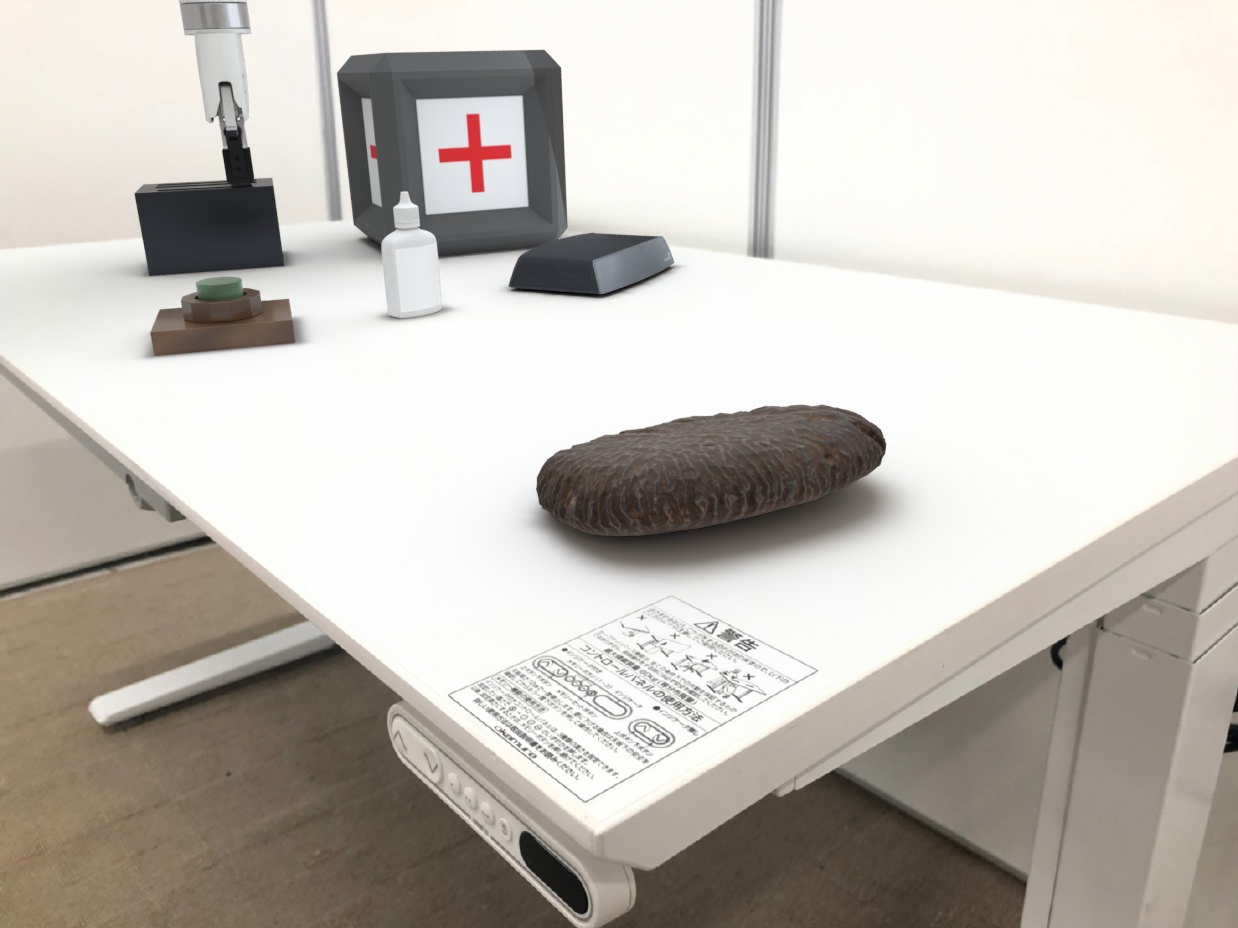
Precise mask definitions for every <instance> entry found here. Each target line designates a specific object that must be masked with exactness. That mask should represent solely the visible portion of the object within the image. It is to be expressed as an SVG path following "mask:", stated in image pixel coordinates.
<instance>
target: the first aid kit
mask: <svg viewBox="0 0 1238 928" xmlns="http://www.w3.org/2000/svg"><path fill="white" fill-rule="evenodd" d="M562 78H563V77H562V67H561V66H560V64H558V62H557V61H556V60H555V59H554V58H553V57H552V56H551V55H550V54H549V53H548V52H547V51H546V49H516V50H514V49H513V50H512V49H509V50H507V49H503V50H462V51H461V50H460V51H459V50H457V51H456V50H455V51H454V50H453V51H452V50H451V51H407V52H406V51H403V52H378V53H366V54H365V53H364V54H354V55H350V56H349V57H348V59H347V60H346V61H345V62H344V63H343V65H342V66H341V67H340V68H339V70H338V71H337V72H336V79H337V88H338V97H339V106H340V115H341V123H342V125H341V126H342V132H343V142H344V151H345V160H346V169H347V179H348V186H349V196H350V202H351V203H350V205H351V214H352V223H353V226H354V227H355V228H357V229H358V230H359V231H360V232H361V233H363V234H364V235H365V236H366V237H367V238H369V239H370V240H372V241H373V242H375V243H377V244H379V245H380V246H381V244H382V241H383V239H384V238H385V237H386V236H387V235H389V234H390V233H392V232H394V231H395V230H396V229H397V228H395V222H394V212H393V207H394V206H396V205H398V204H399V202H400V194H401V192H408V194H409V198H410V201H411V202H412V203H413V204H415V205H417V206H418V209H419V220H420V226H419V227H418V228H420V229H422V230H426V231H428V232H430V233H432V234H433V235H434V236H435V238H436V242H437V251H438V257H448V256H458V255H468V254H478V253H488V252H499V251H510V250H520V249H533V248H535V247H537V246H540V245H542V244H545V243H548V242H551V241H554V240H558V239H561V237H562V235H563V234H564V233H565V232H566V231H567V229H568V228H569V226H568V203H567V202H568V201H567V200H568V199H567V180H566V179H567V177H566V153H565V129H564V127H565V125H564V105H563V102H564V101H563V79H562Z"/></svg>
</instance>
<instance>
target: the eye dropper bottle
mask: <svg viewBox="0 0 1238 928" xmlns="http://www.w3.org/2000/svg"><path fill="white" fill-rule="evenodd" d="M393 212H394V222H395V228H397V229H396V230H395V231H394V232H392V233H390V234H389V235H387V236H386V237H385V238H384V239H383V241H382V244H381V245H380V246H381V247H380V249H381V261H382V271H383V272H382V273H383V282H384V291H385V298H386V299H385V300H386V309H387V314H388V316H390V317H393V318H397V319H412V318H417V317H418V318H419V317H423V316H427V315H431V314H435V313H437V312H440V311H441V310H442V309H443V299H442V298H443V297H442V287H441V286H442V285H441V274H440V262H439V261H440V260H439V256H438V251H437V242H436V238H435V236H434V235H433V234H432V233H430V232H428V231H426V230H422V229H420V228H418V227H419V226H420V220H419V209H418V206H417V205H415V204H413V203H412V202H411V201H410V198H409V194H408V192H401V194H400V202H399V204H398V205H396V206H394V207H393Z"/></svg>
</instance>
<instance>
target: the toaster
mask: <svg viewBox="0 0 1238 928" xmlns="http://www.w3.org/2000/svg"><path fill="white" fill-rule="evenodd" d="M133 195H134V199H135V205H136V210H137V216H138V217H137V218H138V222H139V226H140V233H141V238H142V244H143V249H144V254H145V260H146V266H147V271H148V276H149V277H156V276H157V277H158V276H169V275H171V276H172V275H184V274H197V273H208V272H209V273H211V272H224V271H225V272H226V271H235V270H236V271H237V270H249V269H251V270H252V269H264V268H265V269H266V268H275V267H285V260H284V253H283V252H284V251H283V246H282V244H283V243H282V238H281V231H280V230H281V229H280V223H279V216H278V209H277V202H276V201H277V200H276V194H275V185H274V179H273V177H260V178H259V177H257V178H254V182H252V183H251V185H234V186H231V184H229V183H227V179H222V180H221V179H220V180H201V181H200V180H199V181H186V182H185V181H183V182H181V181H179V182H164V183H163V182H162V183H143V184H142V185H141V186H140V187H139V188H137V190H136V191H134V193H133Z"/></svg>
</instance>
